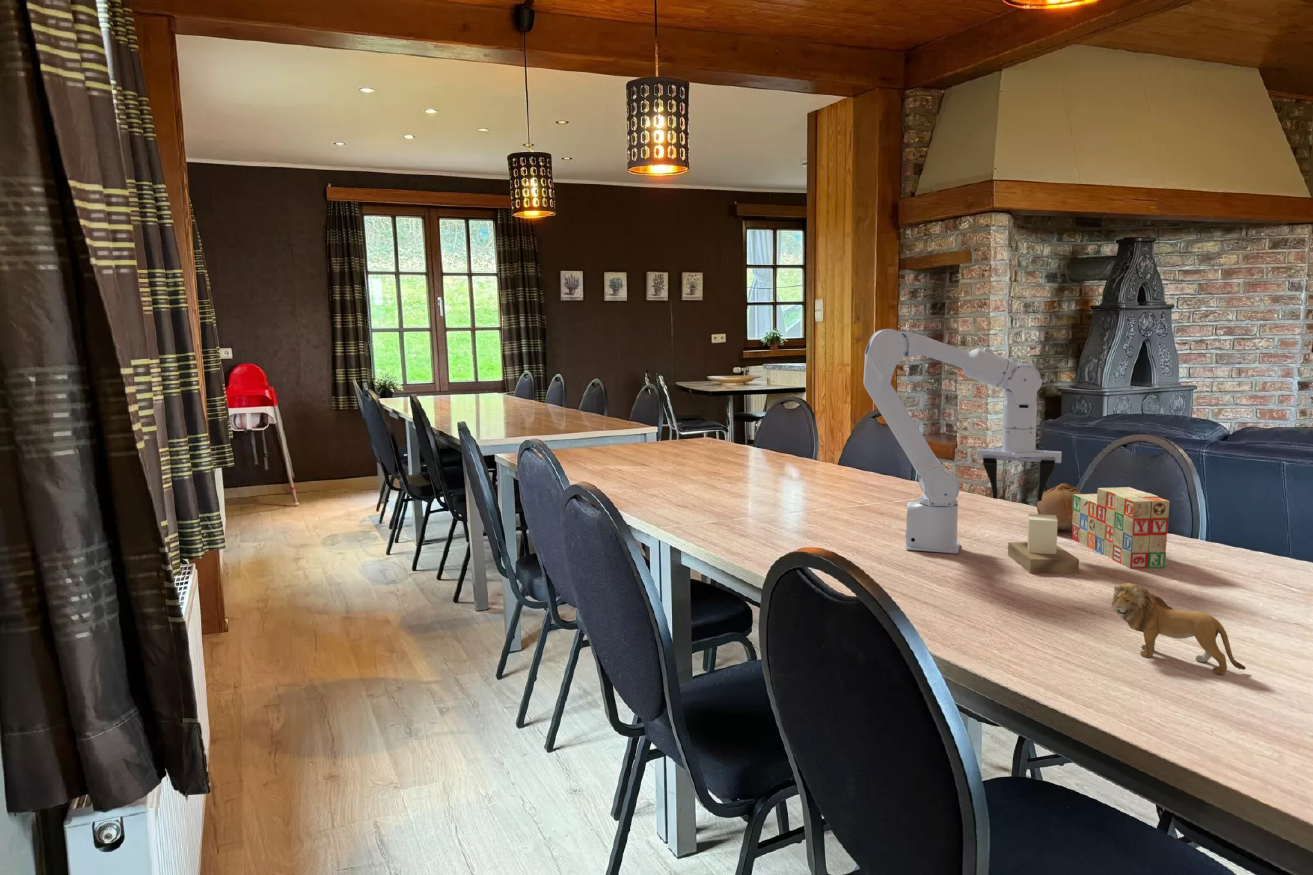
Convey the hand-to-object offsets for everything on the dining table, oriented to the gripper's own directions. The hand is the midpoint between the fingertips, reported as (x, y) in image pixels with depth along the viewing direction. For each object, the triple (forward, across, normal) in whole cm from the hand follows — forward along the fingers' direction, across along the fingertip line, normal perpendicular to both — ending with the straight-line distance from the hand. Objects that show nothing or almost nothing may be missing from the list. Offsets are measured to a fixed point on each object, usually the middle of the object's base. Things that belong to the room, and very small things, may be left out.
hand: (1017, 498), depth 158 cm
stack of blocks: (+10, +17, +4) cm, 20 cm away
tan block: (+10, +4, -9) cm, 14 cm away
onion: (+10, +9, +19) cm, 23 cm away
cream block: (+7, +4, -9) cm, 12 cm away
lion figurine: (+10, +17, -51) cm, 55 cm away
